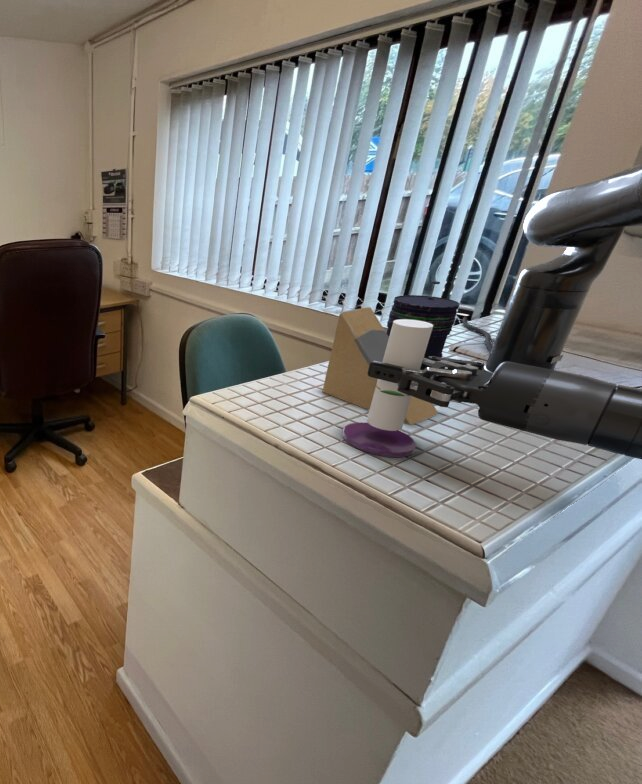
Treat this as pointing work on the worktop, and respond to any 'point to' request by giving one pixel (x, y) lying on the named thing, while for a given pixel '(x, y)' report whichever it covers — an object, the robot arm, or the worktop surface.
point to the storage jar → (426, 317)
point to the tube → (407, 353)
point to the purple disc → (379, 440)
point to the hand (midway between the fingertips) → (377, 364)
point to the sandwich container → (363, 363)
